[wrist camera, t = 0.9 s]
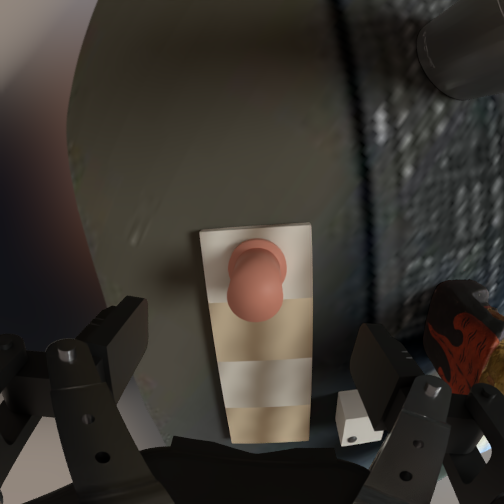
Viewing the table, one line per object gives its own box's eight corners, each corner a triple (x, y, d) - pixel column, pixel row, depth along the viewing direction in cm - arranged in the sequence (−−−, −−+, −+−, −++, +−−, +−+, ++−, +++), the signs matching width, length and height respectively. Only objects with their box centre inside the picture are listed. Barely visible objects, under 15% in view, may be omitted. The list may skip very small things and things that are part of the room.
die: (377, 386, 34) (388, 413, 29) (371, 413, 36) (381, 440, 31) (338, 391, 35) (345, 420, 30) (335, 418, 36) (341, 447, 31)
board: (309, 222, 29) (311, 224, 28) (307, 434, 37) (308, 440, 36) (201, 229, 30) (199, 232, 29) (232, 436, 37) (232, 443, 36)
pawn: (284, 236, 28) (290, 260, 22) (287, 290, 30) (292, 327, 23) (226, 240, 29) (214, 264, 22) (232, 293, 30) (222, 330, 23)
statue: (462, 349, 33) (541, 456, 14) (411, 355, 33) (483, 484, 14) (486, 260, 29) (606, 344, 10) (434, 259, 30) (561, 365, 10)
